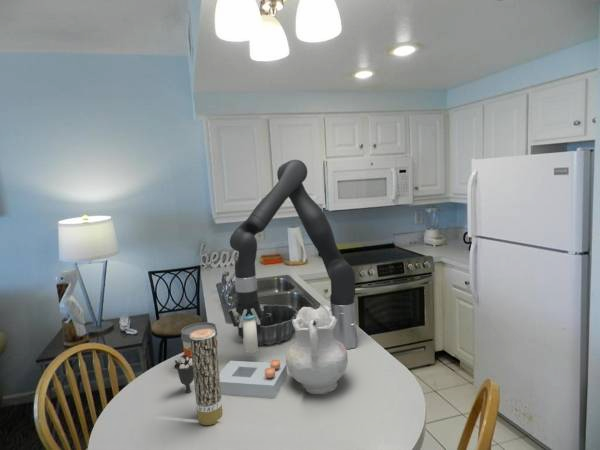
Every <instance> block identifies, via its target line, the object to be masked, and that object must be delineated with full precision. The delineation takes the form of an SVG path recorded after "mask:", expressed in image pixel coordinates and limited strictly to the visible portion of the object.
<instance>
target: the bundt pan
mask: <svg viewBox="0 0 600 450" xmlns="http://www.w3.org/2000/svg"><path fill="white" fill-rule="evenodd" d="M266 305H267V307H268V309H267V315H266V321H265V322H263V323H261V324H260V326H261V333H259V335H257V340H258V346H263V345H269V346H270V345H273V344H274V343H277V344H280V343H281V342H282V341H286V340H287V339H289V338H290V337H292V336H293V335H294V334H295V332H296V330H295V328H294V326H293V324H292V320H293V319H296V316H297V314H298V312H299V311H298V310H297V309H295V307H291V306H290V305H284V304H281V305H280V304H276V303H275V304H266ZM256 314H257V316H258V318H259V319H260V318H261V315H262V310H261V308H259V310H258V311H257V313H256ZM239 317H240V314H239V313H237V315H236V316H235V317H234V318H235V321H236V322H238V321H239Z"/></svg>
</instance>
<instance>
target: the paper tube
mask: <svg viewBox="0 0 600 450" xmlns="http://www.w3.org/2000/svg"><path fill="white" fill-rule="evenodd" d="M216 339H217V336H216V334H215V330H213V329H200V330H196V331H194V332H192V333H191V334H190V343H191V353H192V364H193V374H194V380H193V383H194V393H195V402H196V404H195V405H196V413H197V414H196V415H197V421H198V423H199V424H201V425H203V426H211V425H214V424H215V425H216V424H217V423H218V422H219V420H220V419H221V418H222V417H223V403H222V394H221V390H220V379H219V373H220V371H219V370H220V369H219V358H218V344H217V345H216Z"/></svg>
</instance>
